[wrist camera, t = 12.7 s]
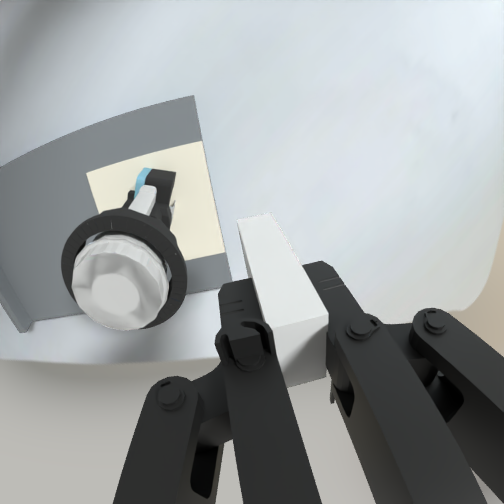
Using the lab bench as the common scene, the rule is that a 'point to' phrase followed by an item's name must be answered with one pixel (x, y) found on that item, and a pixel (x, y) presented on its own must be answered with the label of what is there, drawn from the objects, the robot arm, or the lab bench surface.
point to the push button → (128, 259)
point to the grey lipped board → (103, 203)
